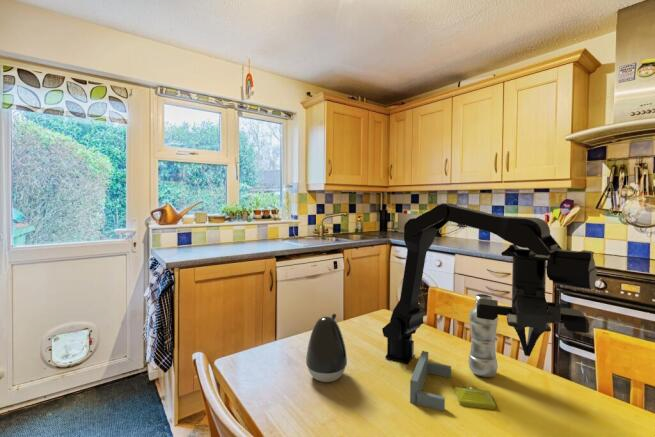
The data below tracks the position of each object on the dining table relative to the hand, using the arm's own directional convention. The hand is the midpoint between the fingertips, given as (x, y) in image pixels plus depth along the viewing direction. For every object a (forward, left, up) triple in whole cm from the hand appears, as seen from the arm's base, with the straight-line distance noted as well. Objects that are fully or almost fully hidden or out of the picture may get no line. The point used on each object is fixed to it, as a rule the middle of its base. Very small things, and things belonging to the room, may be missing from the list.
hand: (526, 355), depth 66 cm
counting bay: (-19, +1, -12) cm, 22 cm away
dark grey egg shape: (-43, -5, -12) cm, 45 cm away
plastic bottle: (-8, +13, -12) cm, 19 cm away
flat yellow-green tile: (-10, +1, -13) cm, 16 cm away
